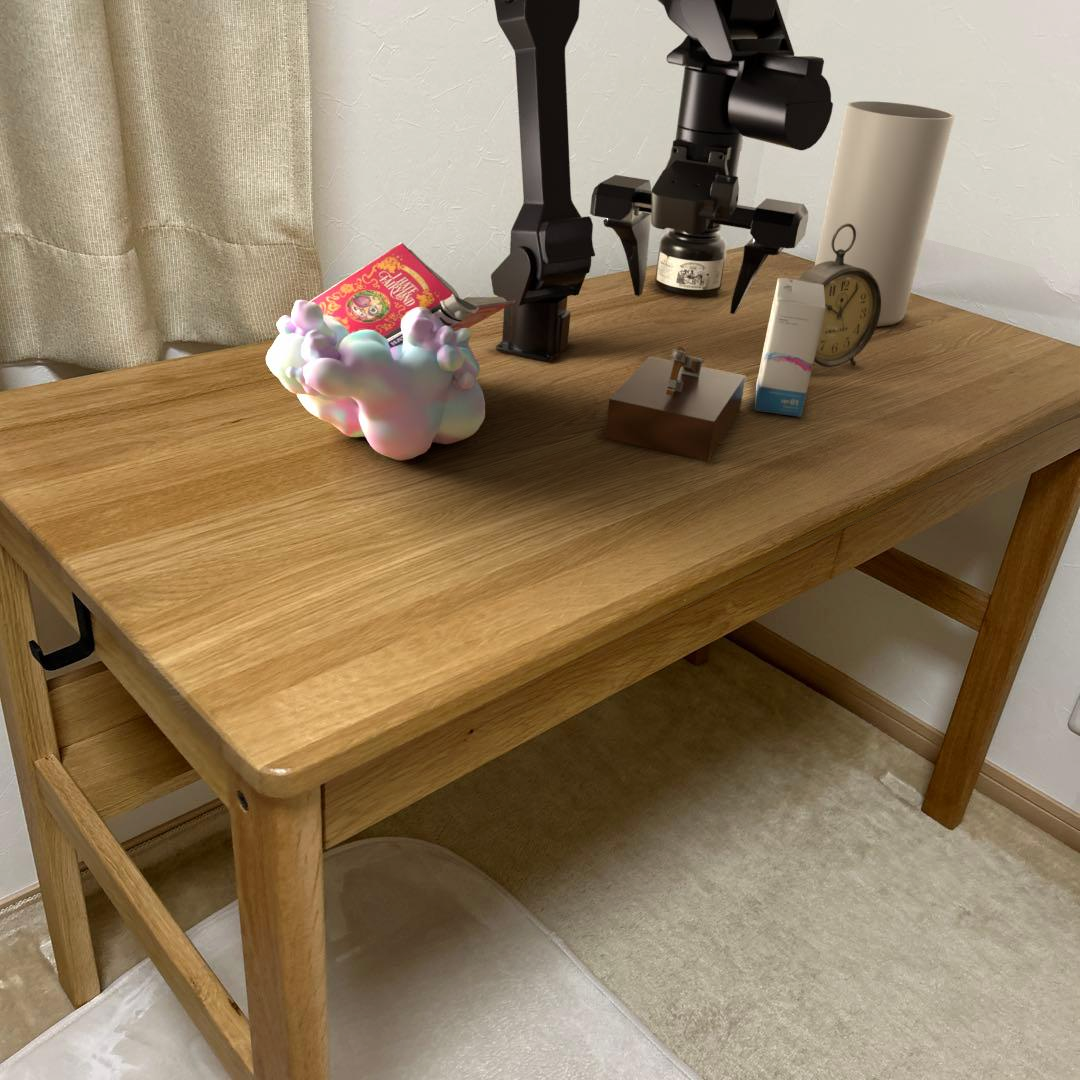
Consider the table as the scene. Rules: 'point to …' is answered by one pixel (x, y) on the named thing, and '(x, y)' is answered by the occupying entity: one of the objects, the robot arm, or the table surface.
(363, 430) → the pastel bubbly cloud sculpture
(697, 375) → the grey orange jointed piece
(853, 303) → the alarm clock
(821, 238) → the cylinder vase
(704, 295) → the ink bottle
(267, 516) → the table surface
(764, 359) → the ink box
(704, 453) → the walnut block
